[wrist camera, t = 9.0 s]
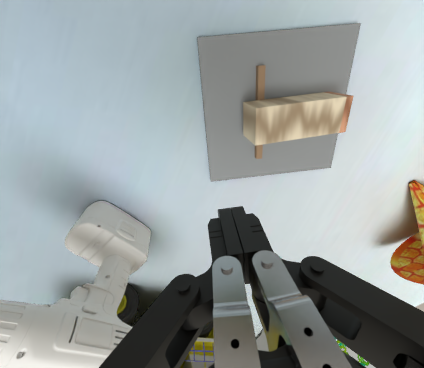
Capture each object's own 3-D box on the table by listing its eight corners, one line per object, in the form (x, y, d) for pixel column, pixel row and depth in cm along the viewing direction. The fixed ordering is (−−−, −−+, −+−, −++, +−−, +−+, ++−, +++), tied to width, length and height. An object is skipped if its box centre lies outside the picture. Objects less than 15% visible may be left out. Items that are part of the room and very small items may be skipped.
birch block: (255, 108, 28) (353, 95, 30) (243, 102, 33) (329, 91, 35) (255, 145, 31) (345, 131, 33) (243, 135, 35) (323, 123, 37)
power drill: (56, 164, 37) (-126, 313, 15) (168, 236, 47) (151, 388, 25) (31, 196, 40) (-158, 363, 18) (142, 258, 50) (108, 414, 28)
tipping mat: (197, 37, 30) (197, 36, 28) (355, 24, 31) (366, 21, 29) (210, 179, 41) (211, 184, 39) (327, 165, 42) (334, 170, 40)
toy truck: (65, 272, 50) (-1, 387, 32) (232, 291, 59) (250, 388, 41) (65, 331, 60) (15, 441, 43) (206, 339, 69) (213, 433, 52)
